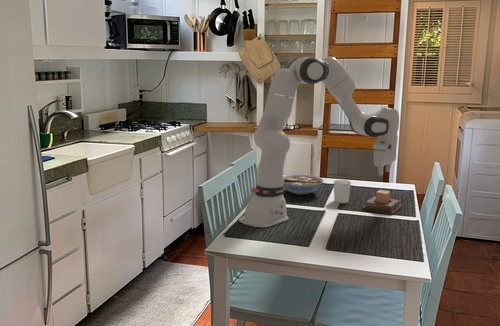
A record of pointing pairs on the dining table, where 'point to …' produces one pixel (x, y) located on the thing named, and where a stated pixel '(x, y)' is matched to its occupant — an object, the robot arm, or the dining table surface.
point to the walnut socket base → (382, 206)
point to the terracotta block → (383, 197)
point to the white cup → (341, 191)
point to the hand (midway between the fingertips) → (384, 173)
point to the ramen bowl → (301, 183)
